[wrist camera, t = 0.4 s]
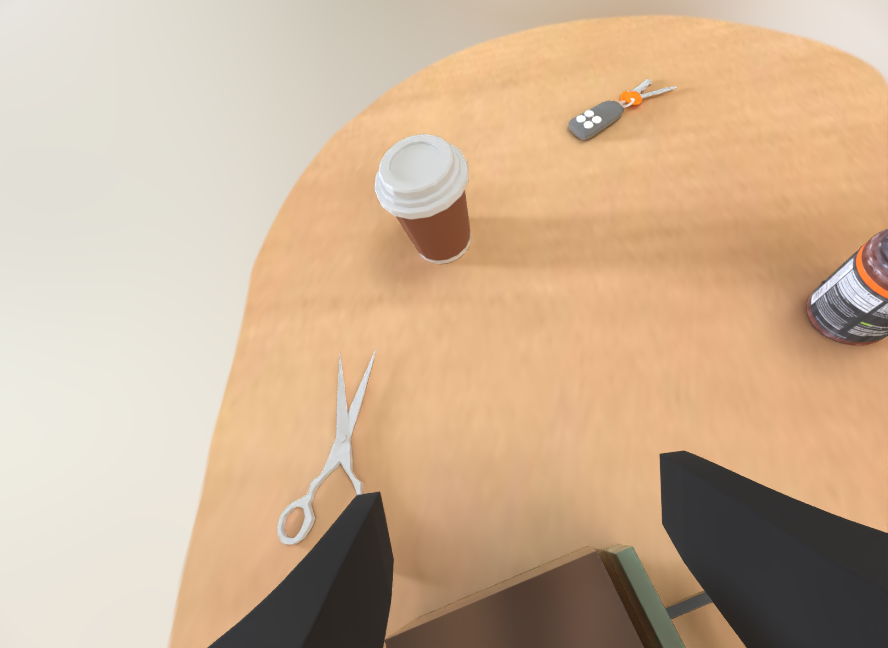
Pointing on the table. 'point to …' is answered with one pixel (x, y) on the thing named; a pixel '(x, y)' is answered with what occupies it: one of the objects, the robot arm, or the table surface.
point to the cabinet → (532, 612)
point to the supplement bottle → (855, 297)
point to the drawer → (651, 599)
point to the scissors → (331, 457)
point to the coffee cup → (427, 195)
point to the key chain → (609, 111)
